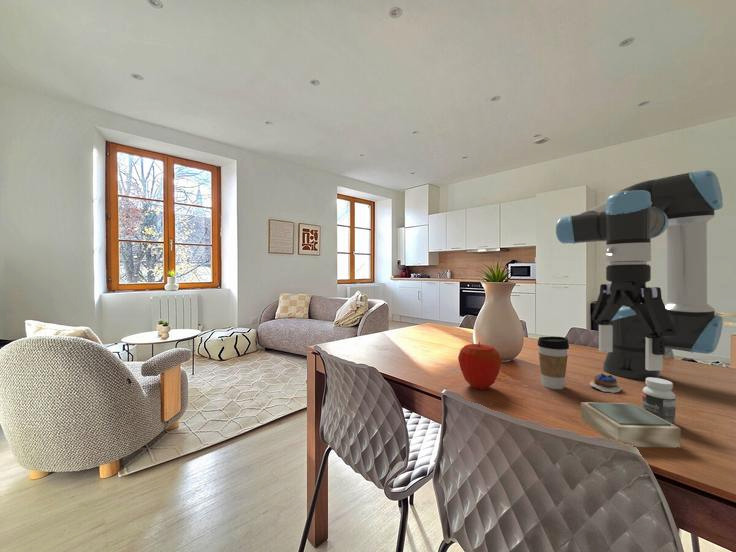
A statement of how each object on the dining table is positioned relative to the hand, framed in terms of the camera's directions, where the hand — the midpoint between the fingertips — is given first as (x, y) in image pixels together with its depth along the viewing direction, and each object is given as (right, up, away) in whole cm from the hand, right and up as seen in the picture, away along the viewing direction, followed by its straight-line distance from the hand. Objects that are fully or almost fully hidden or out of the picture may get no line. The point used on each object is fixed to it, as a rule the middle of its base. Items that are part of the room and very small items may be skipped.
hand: (627, 360), depth 69 cm
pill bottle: (+11, -16, +4) cm, 20 cm away
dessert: (+14, -17, +27) cm, 35 cm away
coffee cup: (0, -16, +28) cm, 32 cm away
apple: (-23, -16, +27) cm, 39 cm away
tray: (0, -16, 0) cm, 16 cm away
